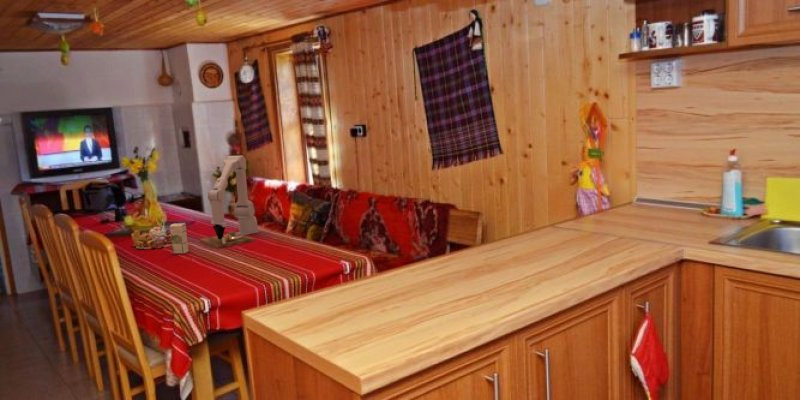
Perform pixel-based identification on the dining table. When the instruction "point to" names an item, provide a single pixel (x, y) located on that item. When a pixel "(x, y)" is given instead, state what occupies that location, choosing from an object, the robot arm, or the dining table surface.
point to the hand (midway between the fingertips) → (220, 238)
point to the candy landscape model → (152, 239)
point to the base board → (218, 243)
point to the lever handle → (234, 237)
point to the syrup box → (179, 238)
